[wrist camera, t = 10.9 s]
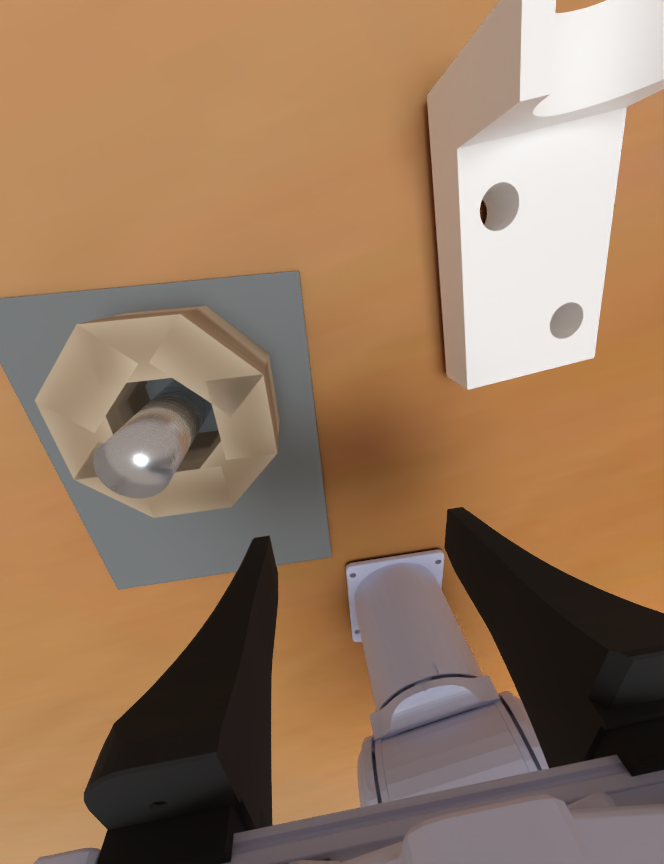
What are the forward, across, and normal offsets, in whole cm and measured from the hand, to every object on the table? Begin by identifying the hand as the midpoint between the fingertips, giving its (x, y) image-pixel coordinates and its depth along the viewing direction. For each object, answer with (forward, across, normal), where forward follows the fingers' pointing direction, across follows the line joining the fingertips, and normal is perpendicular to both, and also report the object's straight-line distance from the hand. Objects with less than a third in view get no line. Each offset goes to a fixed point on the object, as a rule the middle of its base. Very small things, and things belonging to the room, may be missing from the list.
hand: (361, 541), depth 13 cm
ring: (+9, +8, -4) cm, 13 cm away
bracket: (+10, -10, -10) cm, 17 cm away
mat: (+9, +9, 0) cm, 13 cm away
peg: (+9, +8, -4) cm, 13 cm away
